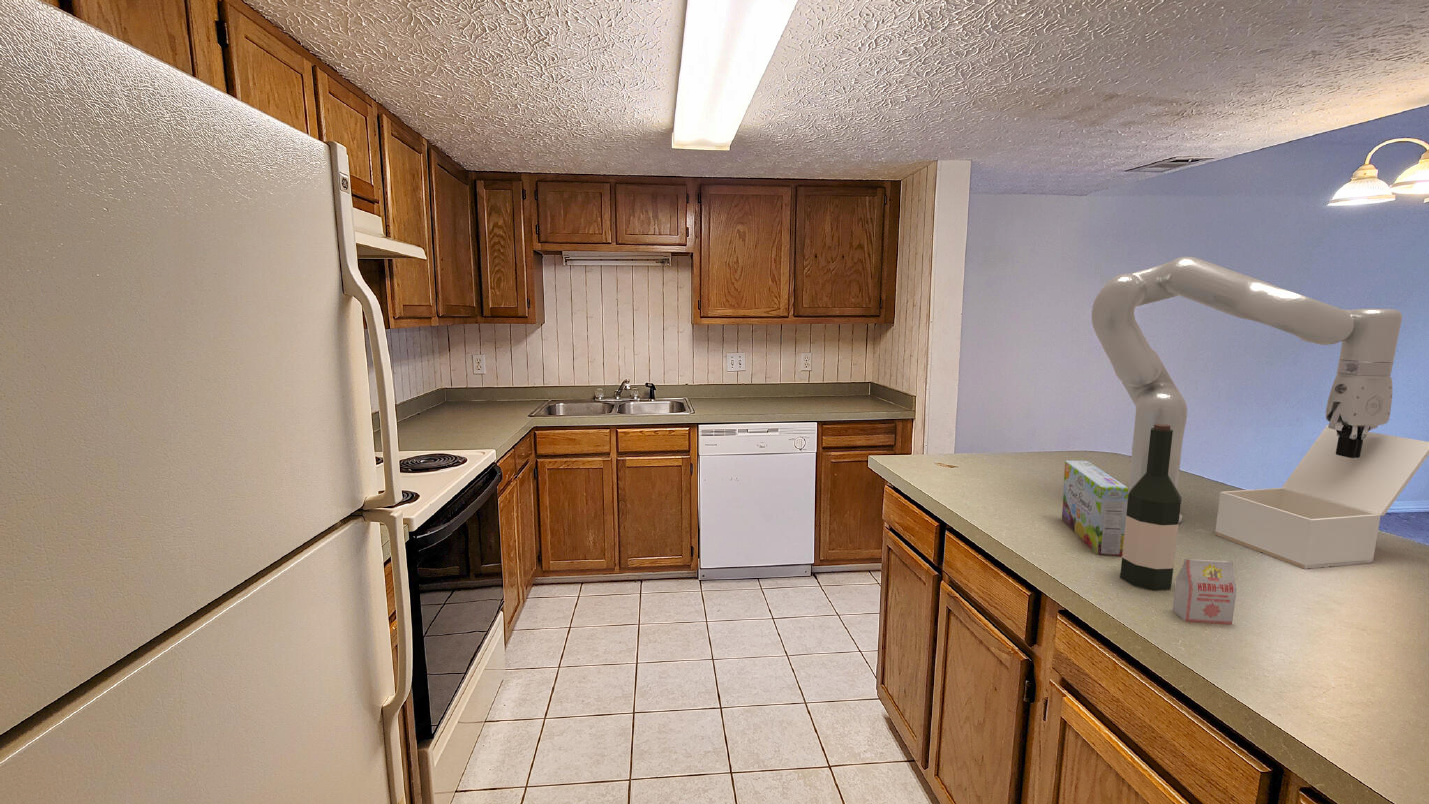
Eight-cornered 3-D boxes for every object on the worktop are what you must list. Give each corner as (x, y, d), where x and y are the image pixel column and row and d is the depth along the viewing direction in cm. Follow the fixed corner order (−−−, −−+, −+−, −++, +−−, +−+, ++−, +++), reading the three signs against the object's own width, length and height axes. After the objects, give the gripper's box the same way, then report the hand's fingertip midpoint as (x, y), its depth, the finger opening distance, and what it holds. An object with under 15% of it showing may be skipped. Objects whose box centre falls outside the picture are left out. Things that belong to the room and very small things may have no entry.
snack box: (1058, 519, 144) (1063, 459, 142) (1084, 521, 143) (1089, 460, 140) (1095, 555, 123) (1101, 485, 121) (1125, 557, 122) (1132, 486, 120)
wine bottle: (1158, 595, 106) (1176, 431, 101) (1109, 576, 114) (1124, 423, 109) (1182, 584, 110) (1201, 426, 105) (1134, 567, 117) (1149, 419, 113)
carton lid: (1433, 442, 115) (1436, 444, 115) (1327, 424, 133) (1329, 426, 133) (1380, 514, 116) (1383, 516, 116) (1281, 487, 134) (1284, 489, 134)
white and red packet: (1172, 610, 101) (1178, 554, 100) (1217, 613, 100) (1224, 557, 98) (1185, 621, 98) (1192, 564, 96) (1231, 624, 96) (1239, 566, 95)
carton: (1304, 569, 116) (1311, 520, 114) (1214, 534, 133) (1220, 491, 132) (1372, 563, 118) (1380, 515, 116) (1275, 529, 135) (1281, 487, 134)
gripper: (1355, 372, 116) (1338, 462, 120) (1417, 371, 119) (1399, 459, 122) (1312, 368, 124) (1297, 453, 127) (1371, 367, 126) (1355, 450, 129)
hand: (1347, 456), depth 124 cm, fingers closed
